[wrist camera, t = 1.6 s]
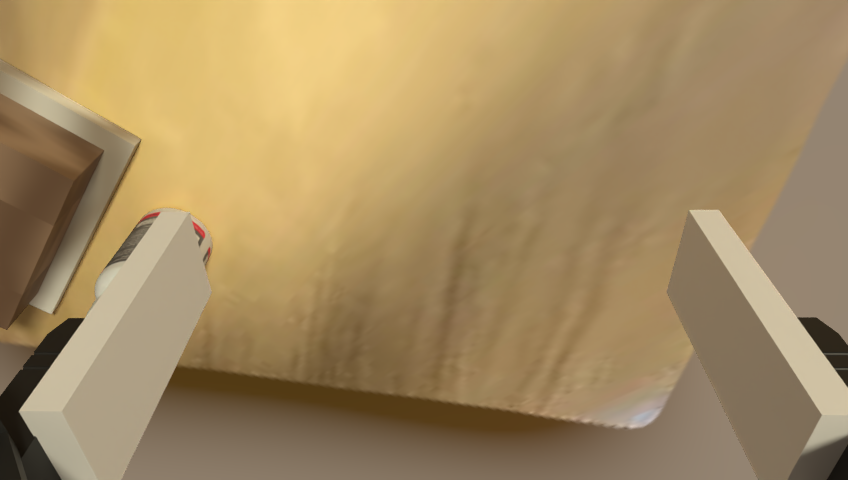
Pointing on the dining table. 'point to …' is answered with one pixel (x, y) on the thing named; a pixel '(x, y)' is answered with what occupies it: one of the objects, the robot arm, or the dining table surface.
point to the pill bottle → (135, 238)
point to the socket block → (50, 188)
